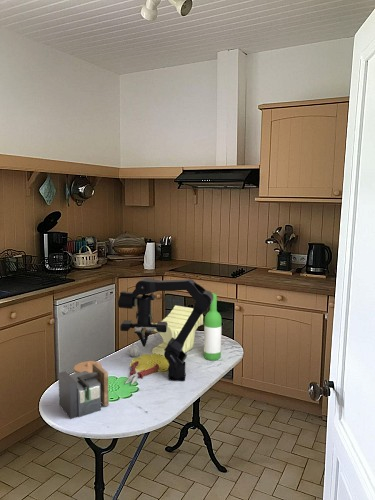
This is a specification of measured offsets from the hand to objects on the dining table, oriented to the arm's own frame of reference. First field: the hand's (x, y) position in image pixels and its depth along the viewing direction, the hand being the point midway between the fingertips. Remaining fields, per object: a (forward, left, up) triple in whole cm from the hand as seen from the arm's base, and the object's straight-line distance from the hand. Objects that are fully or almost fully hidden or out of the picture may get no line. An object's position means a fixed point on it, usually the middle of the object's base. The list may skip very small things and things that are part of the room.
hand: (144, 346), depth 173 cm
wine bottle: (-28, -20, -12) cm, 37 cm away
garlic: (+8, -19, -12) cm, 24 cm away
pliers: (+3, 0, -13) cm, 13 cm away
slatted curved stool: (-10, -26, -12) cm, 30 cm away
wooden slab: (+14, +27, -12) cm, 33 cm away
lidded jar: (+20, +12, -12) cm, 26 cm away
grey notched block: (+18, +29, -12) cm, 36 cm away
